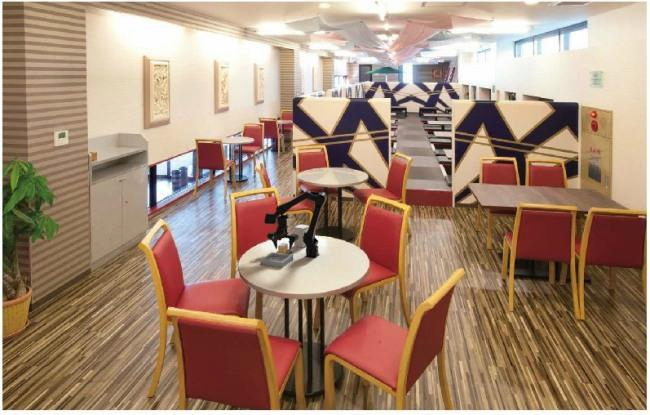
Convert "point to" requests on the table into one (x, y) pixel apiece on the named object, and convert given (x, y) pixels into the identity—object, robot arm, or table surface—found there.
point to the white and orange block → (283, 248)
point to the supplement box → (300, 235)
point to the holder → (287, 252)
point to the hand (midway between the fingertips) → (283, 249)
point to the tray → (276, 259)
